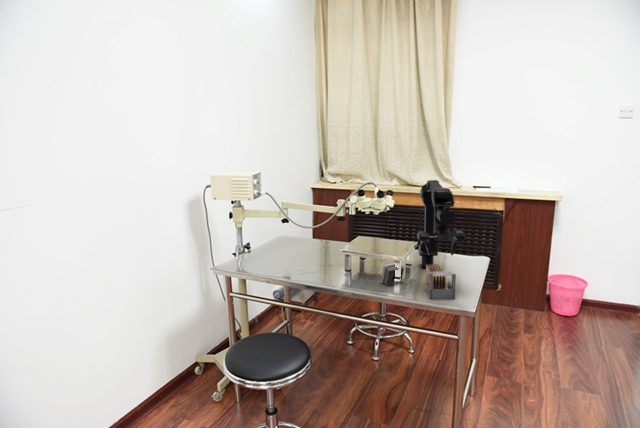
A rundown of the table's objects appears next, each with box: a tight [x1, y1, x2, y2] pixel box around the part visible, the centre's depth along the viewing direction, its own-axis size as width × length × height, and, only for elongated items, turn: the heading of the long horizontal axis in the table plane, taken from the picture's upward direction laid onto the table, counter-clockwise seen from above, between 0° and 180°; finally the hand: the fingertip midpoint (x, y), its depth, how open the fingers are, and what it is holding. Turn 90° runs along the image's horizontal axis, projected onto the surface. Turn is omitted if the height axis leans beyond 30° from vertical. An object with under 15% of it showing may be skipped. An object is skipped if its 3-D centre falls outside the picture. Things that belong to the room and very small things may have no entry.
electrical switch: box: [380, 262, 405, 286], centre depth 180 cm, size 9×5×9 cm, turn 113°
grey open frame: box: [425, 271, 457, 300], centre depth 165 cm, size 9×10×10 cm
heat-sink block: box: [424, 263, 447, 289], centre depth 175 cm, size 14×6×8 cm, turn 176°
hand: (440, 255), depth 170 cm, fingers open, 9 cm apart
